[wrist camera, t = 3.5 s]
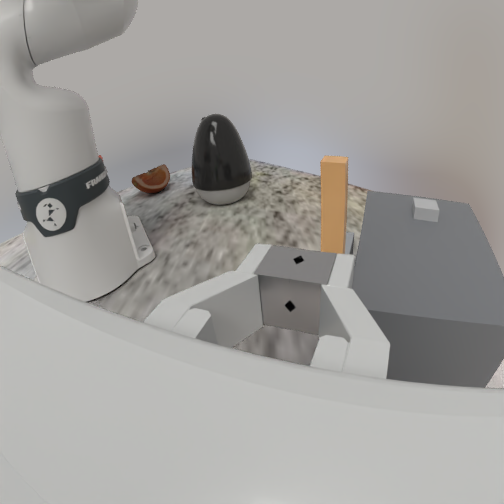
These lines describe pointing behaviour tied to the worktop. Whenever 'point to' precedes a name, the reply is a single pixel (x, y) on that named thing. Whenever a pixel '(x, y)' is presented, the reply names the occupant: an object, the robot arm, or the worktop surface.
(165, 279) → the worktop surface
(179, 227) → the worktop surface
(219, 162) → the black glossy egg shape
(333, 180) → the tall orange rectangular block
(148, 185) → the fruit slice
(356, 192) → the worktop surface
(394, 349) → the gray box with nub
